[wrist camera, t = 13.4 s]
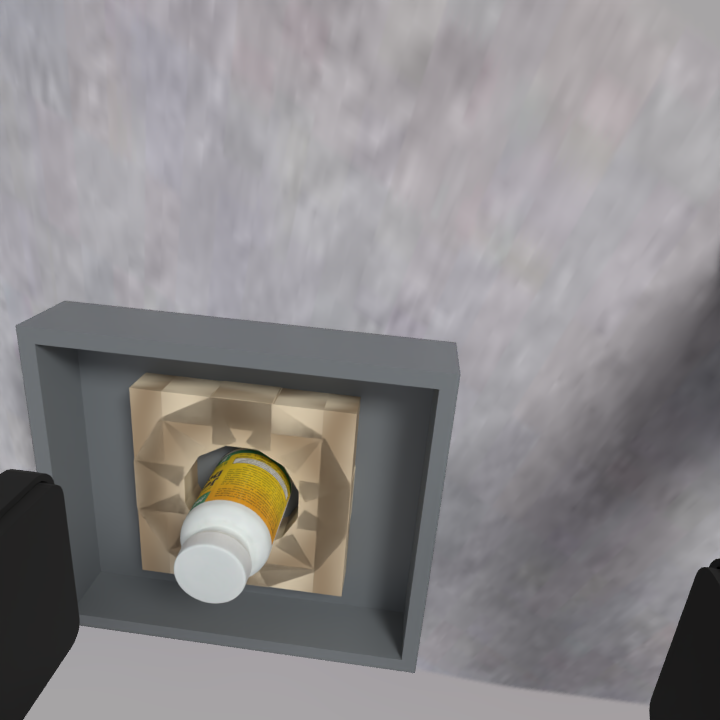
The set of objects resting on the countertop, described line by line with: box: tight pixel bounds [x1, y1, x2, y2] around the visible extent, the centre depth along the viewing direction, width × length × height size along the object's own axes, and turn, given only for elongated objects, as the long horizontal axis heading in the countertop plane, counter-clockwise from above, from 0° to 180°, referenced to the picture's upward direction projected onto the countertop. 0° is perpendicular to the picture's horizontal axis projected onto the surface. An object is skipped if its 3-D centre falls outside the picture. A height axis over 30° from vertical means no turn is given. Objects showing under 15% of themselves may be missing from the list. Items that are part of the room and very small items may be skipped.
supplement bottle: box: [174, 448, 292, 603], centre depth 37 cm, size 5×5×10 cm
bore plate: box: [129, 373, 361, 596], centre depth 40 cm, size 14×14×2 cm
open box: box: [16, 301, 460, 673], centre depth 40 cm, size 25×22×5 cm
